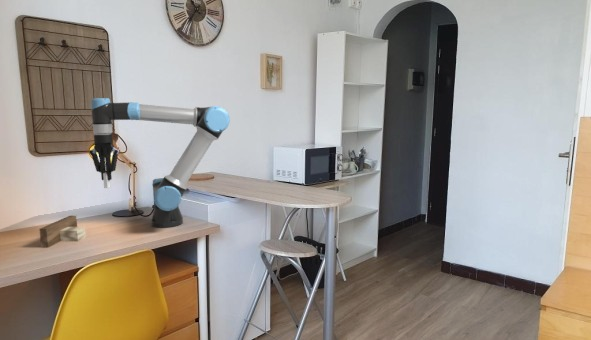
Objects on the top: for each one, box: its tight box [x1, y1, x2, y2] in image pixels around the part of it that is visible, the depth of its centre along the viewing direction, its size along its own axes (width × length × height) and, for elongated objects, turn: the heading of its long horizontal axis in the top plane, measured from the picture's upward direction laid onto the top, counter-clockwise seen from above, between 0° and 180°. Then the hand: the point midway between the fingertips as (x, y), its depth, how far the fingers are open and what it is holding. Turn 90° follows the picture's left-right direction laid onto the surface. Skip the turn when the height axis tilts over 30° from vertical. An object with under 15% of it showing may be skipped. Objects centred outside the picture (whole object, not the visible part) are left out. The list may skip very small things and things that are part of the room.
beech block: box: [60, 226, 87, 243], centre depth 190 cm, size 8×6×5 cm
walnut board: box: [39, 215, 78, 248], centre depth 190 cm, size 3×22×8 cm, turn 177°
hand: (107, 187), depth 191 cm, fingers closed
